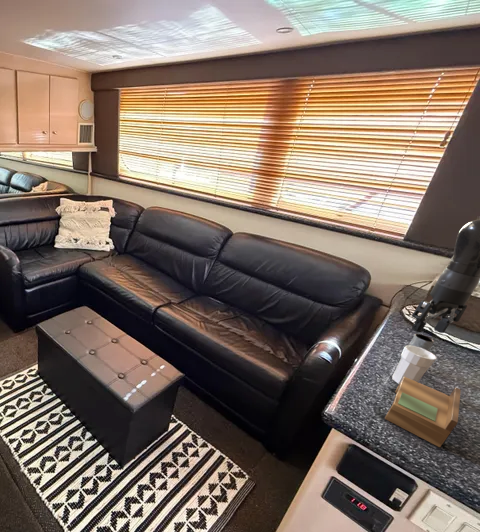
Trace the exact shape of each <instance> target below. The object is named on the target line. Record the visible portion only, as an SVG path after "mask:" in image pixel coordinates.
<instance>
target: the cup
mask: <svg viewBox="0 0 480 532" xmlns="http://www.w3.org/2000/svg"><path fill="white" fill-rule="evenodd" d="M400 356H401V357H400V359H399V362H398V363H397V366H396V368H395V370H394V372H393V374H392V375H391V379H392V381H394V382H395V383H397V384H398V385H399V384H400V382H401V381H402V379H403V377H407V378H409V379H411V380H414V381H416V382H418V383H419V382H420V380H421V379H422V377H423V376H424V375H425V374H426V372H427V371H428V369H429V368H431V367H432V366H433V364H434V363H435V361H436V360H437V358H438V357H437V356H436V355H435V354H434V353H433V352H431V351H430V350H429V351H427V350H425V349H422V348H420V347H416V346H412V345H409V344H407V345H405V346H404V348H403V350H402V352H401V354H400Z"/></svg>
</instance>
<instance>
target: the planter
mask: <svg viewBox="0 0 480 532" xmlns="http://www.w3.org/2000/svg"><path fill="white" fill-rule="evenodd" d="M434 343H435V339H433V338H432V337H430V336H427V335H425V334H421V333H415V334H414V335H413V337H412V339H411V340H410V342H409V344H408V345H412V346H416V347H420V348H422V349H425V350H427V351H429V352H430V350H431V349H432V347H433V345H434Z"/></svg>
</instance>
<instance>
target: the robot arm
mask: <svg viewBox="0 0 480 532" xmlns="http://www.w3.org/2000/svg"><path fill="white" fill-rule="evenodd" d="M479 283H480V219H475V220H471V221H469V222H467V223H466V224H464V225H463V226H462V227H461V228H460V230H459V231H458V233H457V236H456V240H455V245H454V249H453V255H452V257H451V259H450V261H449V262H448V264H447V265H446V267H445V269H444V270H443V271H442V272H441V273H440V275H439V277H438V279H437V281H436V282H435V283H434V285H433V287H432V289H431V291H430V292H429V293H430V294H429V295H430V296H431V297H432V299H431V300H430V301H427V300H424V299H423V300H421V301H420V302H419V304H418V305H417V307H416V308H415V310H414V311H413V313H412V314H411V317H412V318H414V319H415V322H414V323H413V325H412V328H411V330H412V331H414V332H416V333H417V334H421V333H422V331H423V330H424V328H425V327H426V325H427V323H428V322H430V321H431V320H435V319H436V318H438V317H440V319H439V320H438V322H437V323H436V324H435V327H434V328H433V329H434V331H436V332H437V333H439V334H444V333H445V332H446V330H447V329H448V327H449V325H450V324H453V323H454V322H455V323H458V322H460V320H461V318H462V316H463V314H464V313H465V311H466V309H467V307H468V305H467V302H468V301H469V300H470V298H471V296H472V294H473V293H474V291H475V290H476V288H477V286H478V285H479Z"/></svg>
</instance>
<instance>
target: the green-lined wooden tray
mask: <svg viewBox="0 0 480 532" xmlns="http://www.w3.org/2000/svg"><path fill="white" fill-rule="evenodd" d="M461 392H462V390H461V388H458V387H454V388H453V390H452V391H451V393H450V395H448V394H445V393H444V392H441V391H439V390H436V389H434V388H432V387H429V386H427V385H425V384H423V383H420V382H419V381H418V382H416V381H414V380H411V379H409V378H407V377H403V379H402V381H401V382H400V384H398V385H397V387H396V390H395V391H394V393H395V394H396V395H395V396H394V399H393V402H392V404H391V407H389V409H388V411H387V413H386V415H385V416H384V420H386V421H388V422H390V423H392V424H394V425H396V426H397V427H399V428H402V429H403V430H405V431H407V432H409V433H411V434H413V435H415V436H417V437H418V438H421V439H423V440H424V441H427V442H429V443H430V444H432V445H434V446H436V447H438V448H441V447H442V445H443V444H444V443H445V441H446V440H447V438H448V437H449V436H450V434H451V433H452V431H453V430H454V429H455V427H456V426H457V425H458V424H459V416H460V415H459V414H460V403H461Z"/></svg>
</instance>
